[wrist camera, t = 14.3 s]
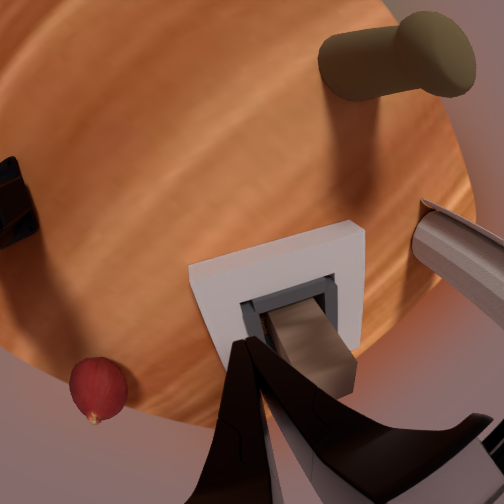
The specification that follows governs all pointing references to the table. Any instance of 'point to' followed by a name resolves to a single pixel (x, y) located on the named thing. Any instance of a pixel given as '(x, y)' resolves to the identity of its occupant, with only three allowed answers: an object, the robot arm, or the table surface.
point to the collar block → (283, 284)
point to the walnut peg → (312, 346)
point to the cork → (400, 59)
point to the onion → (98, 388)
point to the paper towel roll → (463, 258)
